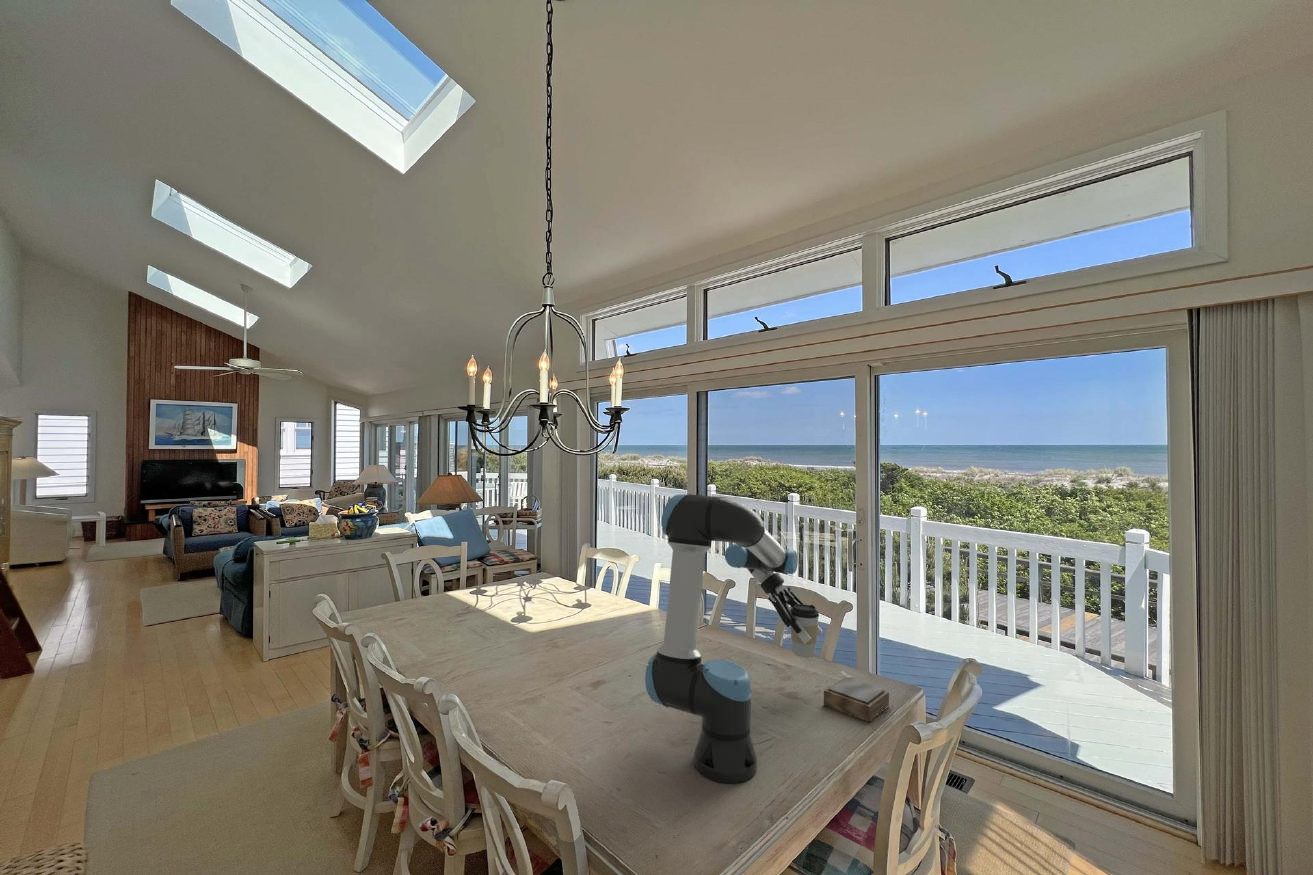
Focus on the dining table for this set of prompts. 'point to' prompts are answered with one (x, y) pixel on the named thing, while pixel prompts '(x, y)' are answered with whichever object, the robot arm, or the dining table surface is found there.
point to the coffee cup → (809, 622)
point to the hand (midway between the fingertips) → (813, 637)
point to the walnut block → (856, 698)
